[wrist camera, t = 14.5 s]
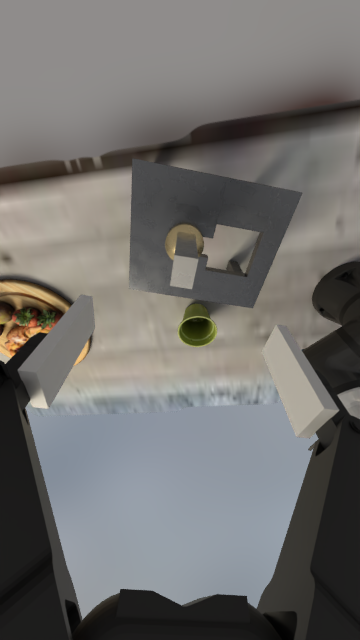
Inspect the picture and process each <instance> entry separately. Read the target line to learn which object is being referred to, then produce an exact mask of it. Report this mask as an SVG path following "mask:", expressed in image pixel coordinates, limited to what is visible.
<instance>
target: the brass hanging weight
mask: <svg viewBox="0 0 360 640" xmlns="http://www.w3.org/2000/svg"><path fill="white" fill-rule="evenodd" d="M203 247H204V241H203V237H202V234H201V232H200V231H199V230H198V229H197V228H196V227H195V226H193V225H191V224H188V223H182V224H178V225H176V226H174V227H173V228H172V229H171V230H170V231H169V232H168V234H167V237H166V241H165V248H166V252H167V254H168V255H169V257H170V258H171V259H172V260H173V267H172V275H171V282H170V286H175V287H181V288H187V289H192V287H193V282H194V278H195V273H196V269H197V264H198V260H199V259H198V258H199V257H200V255H201V254H202V251H203Z"/></svg>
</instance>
